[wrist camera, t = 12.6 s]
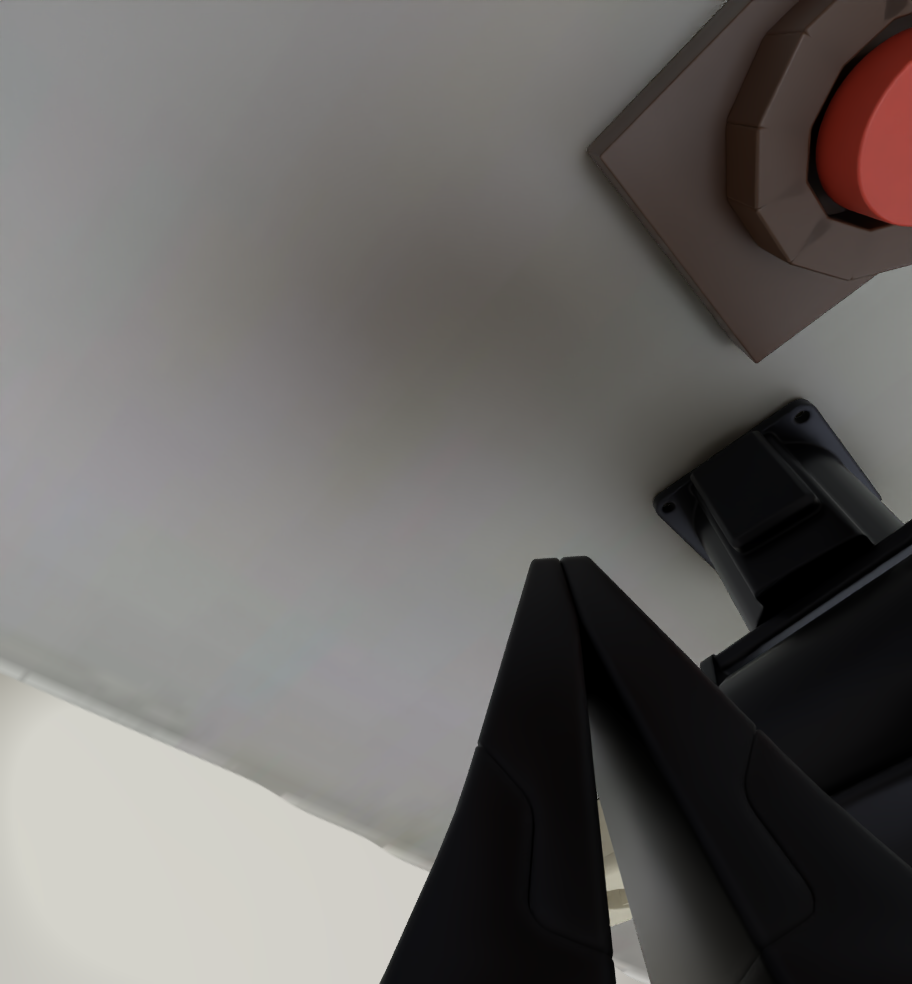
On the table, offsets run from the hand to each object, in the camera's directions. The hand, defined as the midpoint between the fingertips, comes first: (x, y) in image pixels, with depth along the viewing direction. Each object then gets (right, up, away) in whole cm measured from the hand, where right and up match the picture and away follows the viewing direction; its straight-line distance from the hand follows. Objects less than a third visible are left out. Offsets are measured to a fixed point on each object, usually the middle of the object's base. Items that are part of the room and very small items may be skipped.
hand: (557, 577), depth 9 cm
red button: (+8, +10, +4) cm, 13 cm away
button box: (+8, +11, +7) cm, 16 cm away
